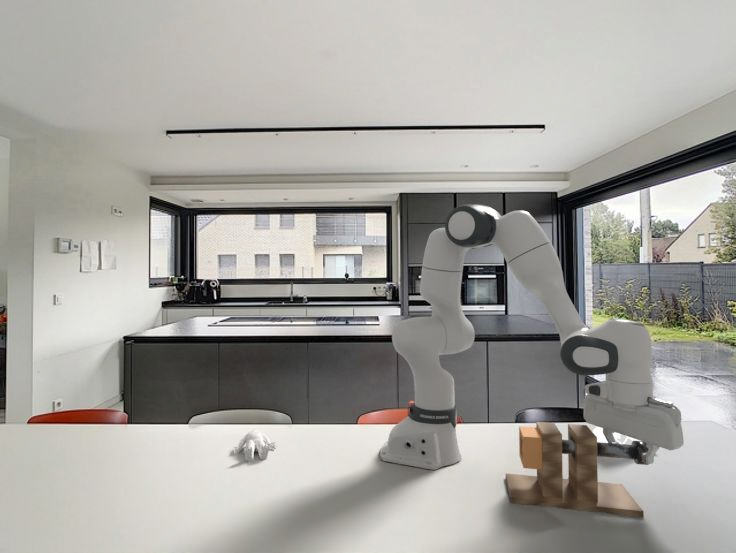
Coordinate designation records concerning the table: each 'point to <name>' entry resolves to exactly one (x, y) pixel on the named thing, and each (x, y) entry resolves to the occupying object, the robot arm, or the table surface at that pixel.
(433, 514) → the table surface
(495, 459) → the table surface
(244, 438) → the toy creature
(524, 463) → the block
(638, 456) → the shaft
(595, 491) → the threaded rod press
